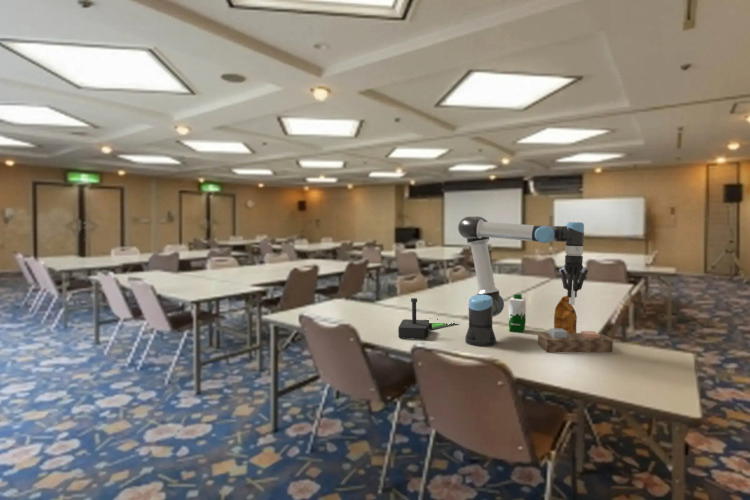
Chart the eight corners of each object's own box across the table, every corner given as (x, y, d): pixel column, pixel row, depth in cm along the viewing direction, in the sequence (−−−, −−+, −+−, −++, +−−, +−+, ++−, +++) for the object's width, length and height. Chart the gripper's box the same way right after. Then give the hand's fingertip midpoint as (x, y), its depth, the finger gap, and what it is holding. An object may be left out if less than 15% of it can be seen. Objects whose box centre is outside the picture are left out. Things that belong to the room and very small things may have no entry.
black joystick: (429, 340, 218) (429, 302, 217) (398, 338, 222) (397, 301, 221) (432, 331, 237) (432, 296, 236) (403, 330, 240) (402, 295, 239)
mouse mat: (437, 318, 271) (437, 316, 271) (462, 324, 253) (462, 322, 253) (404, 324, 255) (404, 322, 255) (429, 331, 237) (429, 329, 237)
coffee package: (579, 336, 221) (580, 295, 219) (570, 341, 212) (570, 298, 211) (560, 333, 228) (561, 293, 227) (550, 337, 219) (551, 296, 218)
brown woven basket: (546, 352, 195) (546, 339, 195) (537, 344, 207) (537, 333, 206) (612, 352, 194) (612, 339, 193) (599, 345, 206) (600, 332, 205)
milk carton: (526, 329, 237) (526, 294, 236) (523, 333, 229) (524, 297, 228) (510, 328, 241) (510, 293, 240) (507, 331, 233) (507, 296, 232)
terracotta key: (586, 344, 197) (586, 334, 197) (580, 341, 203) (581, 331, 203) (599, 344, 197) (599, 334, 196) (593, 341, 203) (593, 331, 202)
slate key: (554, 342, 197) (554, 331, 197) (549, 338, 203) (549, 328, 203) (567, 342, 197) (567, 331, 197) (561, 338, 203) (562, 328, 203)
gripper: (563, 255, 194) (561, 305, 196) (591, 255, 194) (589, 306, 196) (556, 253, 202) (554, 302, 203) (584, 254, 201) (581, 302, 203)
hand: (571, 304), depth 199 cm, fingers closed
